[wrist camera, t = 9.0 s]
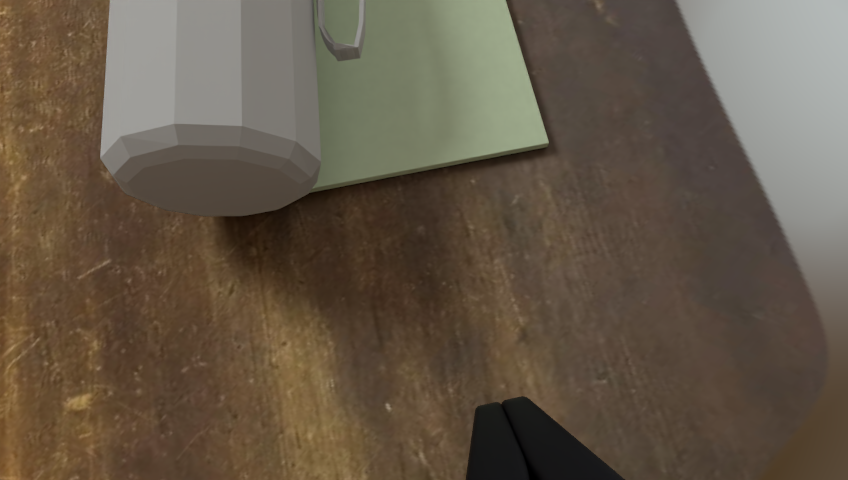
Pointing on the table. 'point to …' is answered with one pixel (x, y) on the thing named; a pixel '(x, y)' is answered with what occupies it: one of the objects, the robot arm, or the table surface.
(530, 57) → the table surface
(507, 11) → the mat
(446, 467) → the table surface
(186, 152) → the water bottle
